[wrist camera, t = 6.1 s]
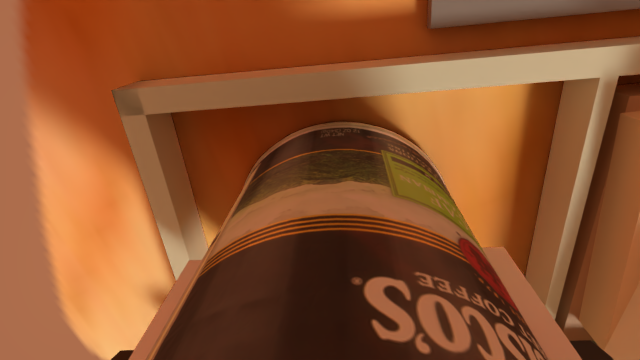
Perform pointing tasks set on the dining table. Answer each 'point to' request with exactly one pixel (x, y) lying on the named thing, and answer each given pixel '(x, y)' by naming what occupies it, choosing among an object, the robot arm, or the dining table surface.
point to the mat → (514, 10)
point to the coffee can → (345, 263)
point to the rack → (447, 74)
